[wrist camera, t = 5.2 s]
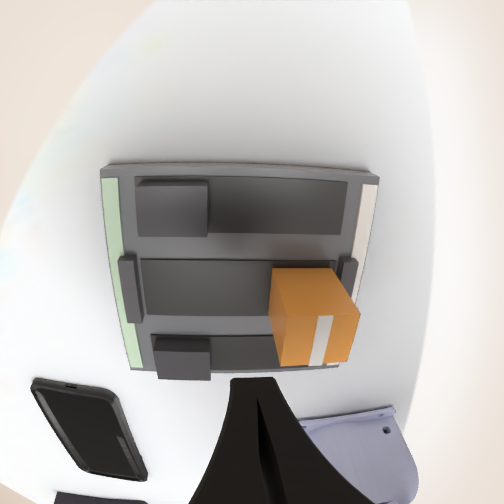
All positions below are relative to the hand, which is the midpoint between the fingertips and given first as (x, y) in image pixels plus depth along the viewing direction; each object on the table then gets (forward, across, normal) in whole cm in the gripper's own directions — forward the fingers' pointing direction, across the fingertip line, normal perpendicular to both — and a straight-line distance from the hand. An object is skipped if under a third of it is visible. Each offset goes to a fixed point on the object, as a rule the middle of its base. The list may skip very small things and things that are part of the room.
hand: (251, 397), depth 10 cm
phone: (+9, +12, +17) cm, 23 cm away
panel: (+8, 0, 0) cm, 8 cm away
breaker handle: (+7, -3, 0) cm, 7 cm away
